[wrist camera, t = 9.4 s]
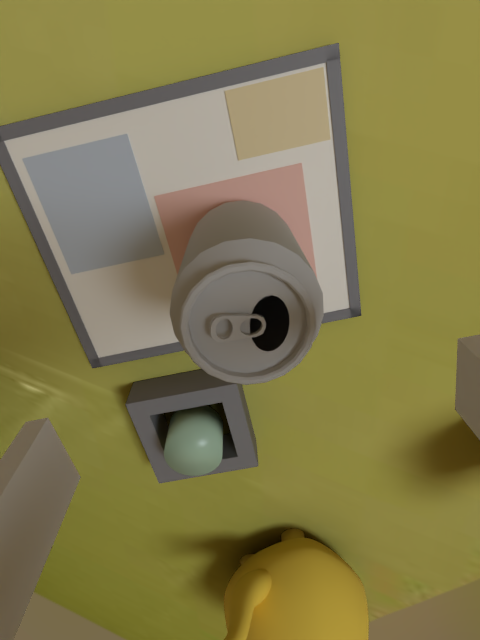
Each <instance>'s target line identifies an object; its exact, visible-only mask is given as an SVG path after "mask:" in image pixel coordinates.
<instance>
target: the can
mask: <svg viewBox="0 0 480 640" xmlns="http://www.w3.org/2000/svg"><path fill="white" fill-rule="evenodd" d="M323 316H324V309H323V292H322V290H321V288H320V285H319V283H318V280H317V278H316V276H315V273H314V271H313V269H312V268H311V266H310V264H309V262H308V260H307V259H306V257H305V255H304V253H303V251H302V250H301V248H300V246H299V244H298V242H297V241H296V239H295V237H294V235H293V234H292V232H291V230H290V228H289V226H288V225H287V224H286V222H285V221H284V220H283V219H282V218H281V217H280V216H279V215H278V214H277V212H275V211H273V210H272V209H270V208H268V207H266V206H264V205H263V204H261V203H255V202H250V201H245V200H242V201H234V202H227V203H224V204H222V205H220V206H218V207H216V208H214V209H212V210H210V211H209V212H208V213H207V214H206V215H205V216H204V217H203V218H202V219H201V220H200V221H199V222H198V223H197V225H196V227H195V229H194V231H193V233H192V235H191V237H190V239H189V242H188V245H187V248H186V251H185V254H184V257H183V260H182V263H181V266H180V269H179V272H178V275H177V278H176V281H175V284H174V287H173V290H172V296H171V304H170V318H171V322H172V326H173V331H174V334H175V336H176V338H177V339H178V341H179V342H180V344H181V346H182V347H183V349H184V350H185V352H186V353H187V354H188V355H189V356H190V357H191V359H192V360H193V362H194V363H195V364H197V365H198V366H199V367H200V368H201V369H203V370H204V371H205V372H206V373H207V374H209V375H211V376H214V377H216V378H218V379H221V380H223V381H225V382H231V383H238V384H245V385H247V384H256V383H264V382H268V381H270V380H273V379H275V378H278V377H280V376H283V375H285V374H286V373H287V372H289V371H290V370H291V369H293V368H294V367H295V366H297V365H298V364H299V363H300V362H301V361H302V359H303V358H304V357H305V355H306V354H307V352H308V351H309V350H310V348H311V346H312V343H313V341H314V340H315V339H316V337H317V336H318V332H319V329H320V326H321V323H322V319H323Z"/></svg>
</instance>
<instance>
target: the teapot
mask: <svg viewBox="0 0 480 640" xmlns="http://www.w3.org/2000/svg"><path fill="white" fill-rule="evenodd" d="M281 540H282V542H279V543H276V544H274V545H271V546H269V547H267V548H265V549H263V550H261V551H259V552H257V553H256V554H248V555H245V556H243V557H242V558H241V559H240V564H241V566H240V567H239V568H238V569H237V570H236V572H235V573H234V575H233V576H232V577H231V579H230V581H229V583H228V585H227V588H226V590H225V594H224V611H225V619H226V626H227V631H228V633H227V636H226V637H225V639H224V640H368V633H369V632H368V630H369V621H368V608H367V601H366V595H365V591H364V587H363V584H362V582H361V580H360V578H359V577H358V575H357V574H356V573H355V572H354V571H353V569H352V568H351V567H350V566H349V565H348V564H347V563H346V562H345V561H344V560H343V559H342V558H341V557H340V556H339V555H337V554H336V553H335V552H334V551H332V550H331V549H329V548H328V547H326V546H324V545H323V544H321V543H319V542H317V541H315V540H313V539H309V538H304V533H303V532H302V531H301V530H299V529H295V528H293V529H288V530H285V531H284V532H283V533H282V535H281Z"/></svg>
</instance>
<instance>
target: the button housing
mask: <svg viewBox="0 0 480 640" xmlns="http://www.w3.org/2000/svg"><path fill="white" fill-rule="evenodd" d="M221 402H222V403H223V407H224V410H225V414H226V417H227V421H228V424H229V427H230V431H231V434H226V435H223V454H222V460H221V463H220V464H219V466H218V467H217V468H216V469H215V470H213V471H212V472H210V473H207V474H204V475H210V474H216V473H222V472H228V471H234V470H239V469H245V468H251V467H257V466H258V456H257V444H256V438H255V434H254V430H253V427H252V423H251V419H250V415H249V411H248V407H247V403H246V399H245V395H244V391H243V387H242V384H238V383H231V382H225V381H223V380H221V379H218V378H216V377H214V376H211V375H209V374H207V373H206V372H205V371H204V370H203V369H200V370H195V371H189V372H184V373H179V374H174V375H169V376H163V377H158V378H153V379H148V380H142V381H137V382H133V385H132V388H131V390H130V393H129V396H128V399H127V401H126V404H125V405H126V407H127V409H128V412H129V414H130V416H131V419H132V421H133V423H134V426H135V428H136V430H137V433H138V435H139V437H140V440H141V442H142V444H143V447H144V449H145V451H146V454H147V456H148V458H149V461H150V463H151V465H152V468H153V470H154V472H155V475H156V477H157V479H158V482H159V483H164V482H170V481H175V480H181V479H187V478H193V477H199V476H188V475H184V474H180V473H178V472H176V471H174V470H173V469H172V468H170V467H169V465H168V464H167V463H166V461H165V458H164V449H165V444H166V439H167V434H168V429H169V427H168V424H167V422H166V419H165V416H164V414H163V413H167V412H172V411H177V410H183V409H188V408H194V407H199V406H204V405H210V404H215V403H221ZM204 475H200V476H204Z"/></svg>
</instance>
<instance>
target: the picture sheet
mask: <svg viewBox="0 0 480 640" xmlns="http://www.w3.org/2000/svg"><path fill="white" fill-rule="evenodd" d="M0 165H1V167H2V169H3V171H4V174H5V176H6V178H7V180H8V183H9V185H10V187H11V189H12V191H13V194H14V196H15V198H16V200H17V202H18V205H19V207H20V209H21V211H22V213H23V216H24V218H25V220H26V222H27V225H28V227H29V229H30V231H31V233H32V236H33V238H34V240H35V242H36V244H37V247H38V249H39V251H40V253H41V255H42V258H43V260H44V262H45V264H46V267H47V269H48V271H49V273H50V275H51V278H52V280H53V282H54V284H55V286H56V289H57V291H58V293H59V295H60V298H61V300H62V302H63V304H64V306H65V309H66V311H67V313H68V315H69V317H70V320H71V322H72V324H73V326H74V328H75V331H76V333H77V335H78V337H79V340H80V342H81V344H82V346H83V348H84V351H85V353H86V355H87V357H88V359H89V362H90V364H91V366H92V368H97V367H102V366H107V365H112V364H117V363H122V362H127V361H132V360H137V359H143V358H148V357H153V356H158V355H163V354H168V353H173V352H178V351H183V350H184V349H183V347H182V346H181V344H180V342H179V341H178V339H177V338H176V336H175V334H174V331H173V326H172V322H171V318H170V304H171V296H172V290H173V287H174V284H175V281H176V278H177V275H178V272H179V269H180V266H181V263H182V260H183V257H184V254H185V251H186V248H187V245H188V242H189V239H190V237H191V235H192V233H193V231H194V229H195V227H196V225H197V223H198V222H199V221H200V220H201V219H202V218H203V217H204V216H205V215H206V214H207V213H208V212H209V211H210V210H212V209H214V208H216V207H218V206H220V205H222V204H224V203H227V202H234V201H242V200H245V201H250V202H255V203H261V204H263V205H264V206H266V207H268V208H270V209H272V210H273V211H275V212H277V214H278V215H279V216H280V217H281V218H282V219H283V220H284V221H285V222H286V224H287V225H288V226H289V228H290V230H291V232H292V234H293V235H294V237H295V239H296V241H297V242H298V244H299V246H300V248H301V250H302V251H303V253H304V255H305V257H306V259H307V260H308V262H309V264H310V266H311V268H312V269H313V271H314V273H315V276H316V278H317V280H318V283H319V285H320V288H321V290H322V292H323V309H324V316H323V319H322V323H326V322H331V321H336V320H341V319H347V318H352V317H357V316H361V307H360V295H359V283H358V270H357V258H356V246H355V234H354V222H353V210H352V198H351V186H350V174H349V162H348V150H347V138H346V126H345V114H344V102H343V89H342V77H341V65H340V53H339V43H336V44H332V45H328V46H324V47H320V48H316V49H312V50H308V51H304V52H300V53H296V54H292V55H288V56H284V57H279V58H275V59H271V60H267V61H263V62H259V63H255V64H251V65H247V66H243V67H239V68H235V69H231V70H227V71H223V72H219V73H215V74H211V75H206V76H202V77H198V78H194V79H190V80H186V81H182V82H178V83H174V84H170V85H166V86H162V87H158V88H154V89H150V90H146V91H142V92H138V93H134V94H129V95H125V96H121V97H117V98H113V99H109V100H105V101H101V102H97V103H93V104H89V105H85V106H81V107H77V108H73V109H69V110H65V111H61V112H56V113H52V114H48V115H44V116H40V117H36V118H32V119H28V120H24V121H20V122H16V123H12V124H8V125H4V126H0Z"/></svg>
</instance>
